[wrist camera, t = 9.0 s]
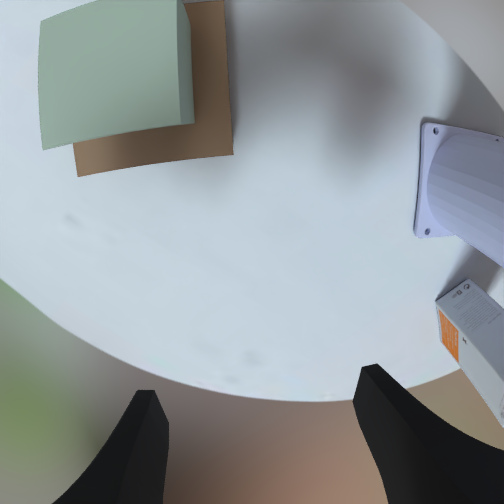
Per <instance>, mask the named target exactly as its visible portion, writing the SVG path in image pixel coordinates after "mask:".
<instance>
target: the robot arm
mask: <svg viewBox="0 0 504 504" xmlns="http://www.w3.org/2000/svg"><path fill="white" fill-rule="evenodd" d="M434 128H435V133H433V129H434ZM426 229H427V231H426V232H425V230H426ZM414 234H415V236H417V237H418V238H431V237H441V236H452V235H456V236H458V237H459V238H461V239H462V240H464V241H465V242H467V243H468V244H470V245H471V246H473V247H474V248H476V249H477V250H479V251H480V252H482V253H483V254H485V255H486V256H488V257H489V258H490V259H492V260H493V261H495V262H496V263H498V264H499V265H500V266H502V267H503V268H504V137H500V136H496V135H492V134H488V133H483V132H479V131H474V130H469V129H464V128H459V127H453V126H448V125H442V124H435V123H429V122H426V123H424V124H423V126H422V138H421V165H420V180H419V192H418V203H417V212H416V220H415V228H414ZM353 405H354V408H355V412H356V416H357V419H358V422H359V425H360V428H361V430H362V432H363V435H364V437H365V439H366V442H367V444H368V446H369V448H370V451H371V453H372V456H373V458H374V460H375V462H376V465H377V467H378V469H379V472H380V475H381V477H382V480H383V484H384V488H385V492H386V495H387V499H388V504H504V451H503V450H501V449H497V448H495V447H492V446H490V445H488V444H485V443H483V442H481V441H479V440H477V439H475V438H473V437H471V436H469V435H467V434H465V433H463V432H462V431H460V430H458V429H457V428H455V427H453V426H451V425H450V424H449V423H447V422H446V421H444V420H443V419H441V418H440V417H439V416H437V415H436V414H434V413H433V412H432V411H430V410H429V409H428V408H427V407H426V406H424V405H423V404H422V403H421V402H420V401H418V400H417V399H416V398H415V397H414V396H412V395H411V394H410V393H409V392H408V391H407V390H406V389H404V388H403V387H402V386H401V385H400V384H399V383H398V382H397V381H396V380H395V379H394V378H392V377H391V376H390V375H389V374H388V373H387V372H386V371H385V370H384V369H383V368H382V367H381V366H379V365H378V364H373V365H369V366H364V367H362V369H361V373H360V376H359V380H358V384H357V388H356V391H355V395H354V398H353ZM168 449H169V422H168V420H167V418H166V415H165V413H164V411H163V409H162V407H161V404H160V402H159V400H158V398H157V395H156V393H155V390H138V391H136V393H135V395H134V396H133V398H132V400H131V402H130V404H129V405H128V407H127V409H126V411H125V412H124V414H123V416H122V417H121V419H120V421H119V423H118V424H117V426H116V427H115V429H114V430H113V432H112V434H111V435H110V437H109V438H108V440H107V441H106V443H105V445H104V446H103V447H102V449H101V450H100V451H99V453H98V454H97V456H96V457H95V458H94V460H93V461H92V462H91V464H90V465H89V466H88V467H87V469H86V470H85V471H84V472H83V473H82V475H81V476H80V477H79V478H78V479H77V480H76V481H75V482H74V483H73V484H72V485H71V487H70V488H69V489H68V490H67V491H66V492H65V493H64V494H63V495H61V496H60V498H58V499H57V500H56V501H55V502H54V503H52V504H163V492H164V483H165V475H166V466H167V457H168Z"/></svg>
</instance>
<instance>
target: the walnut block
mask: <svg viewBox="0 0 504 504" xmlns="http://www.w3.org/2000/svg"><path fill="white" fill-rule="evenodd" d="M184 7H185V10H186V13H187V16H188V19H189V22H190V25H191V56H192V80H193V99H194V116H195V123H193V124H184V125H175V126H167V127H160V128H153V129H146V130H139V131H133V132H127V133H122V134H116V135H111V136H106V137H101V138H96V139H91V140H86V141H81V142H76V143H73V148H74V155H75V162H76V169H77V175H78V177H81V176H86V175H91V174H96V173H101V172H107V171H112V170H118V169H124V168H130V167H136V166H142V165H149V164H156V163H163V162H171V161H179V160H187V159H196V158H205V157H215V156H226V155H234V154H233V140H232V125H231V110H230V95H229V79H228V63H227V46H226V29H225V11H224V0H220V1H207V2H197V3H188V4H184Z"/></svg>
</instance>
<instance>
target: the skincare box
mask: <svg viewBox="0 0 504 504" xmlns="http://www.w3.org/2000/svg"><path fill="white" fill-rule="evenodd" d="M436 307H437V313H438V320H439V329H440V341H441V343H442V344H443V345H444V346H445V348H446V349H447V350H448V351H449V353H450V354H451V355H452V357H453V358H454V359H455V361H456V362H457V363H458V365H459V366H460V367H461V369H462V370H463V371H464V373H465V374H466V375H467V377H468V378H469V379H470V381H471V382H472V384H473V385H474V386H475V388H476V389H477V390H478V392H479V393H480V395H481V396H482V397H483V399H484V400H485V402H486V403H487V405H488V406H489V408H490V409H491V410H492V412H493V414H494V415H495V416H496V418H497V420H498V421H499V423H500V424H501V426H502V427H503V428H504V309H503V308H502V307H501V306H500V305H499V304H498V303H497V302H496V301H495V300H494V299H492V298H491V297H490V296H489V295H488V294H487V293H486V292H485V291H484V290H482V289H481V288H480V287H479V286H478V285H477V284H475V283H474V282H473V281H472V280H471V279H467V280H465V281H464V282H462V283H461V284H460V285H458V286H457V287H456V288H454V289H453V290H451V291H450V292H449V293H447V294H446V295H444V296H443V297H441V298H440V299H438V300H437V301H436Z"/></svg>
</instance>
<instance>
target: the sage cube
mask: <svg viewBox="0 0 504 504" xmlns="http://www.w3.org/2000/svg"><path fill="white" fill-rule="evenodd" d="M38 95H39V115H40V128H41V139H42V148H43V150H46V149H50V148H54V147H59V146H63V145H67V144H72V143H76V142H81V141H86V140H91V139H96V138H101V137H106V136H111V135H116V134H122V133H127V132H133V131H139V130H146V129H153V128H160V127H167V126H175V125H184V124H193V123H195V116H194V99H193V80H192V56H191V25H190V22H189V19H188V16H187V13H186V10H185V7H184V4H183V1H182V0H97V1H94V2H91V3H88V4H84V5H81V6H79V7H76V8H73V9H70V10H67V11H65V12H62V13H60V14H57V15H55V16H52V17H50V18H47V19H45V20H43V21H41V25H40V37H39V56H38Z"/></svg>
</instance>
